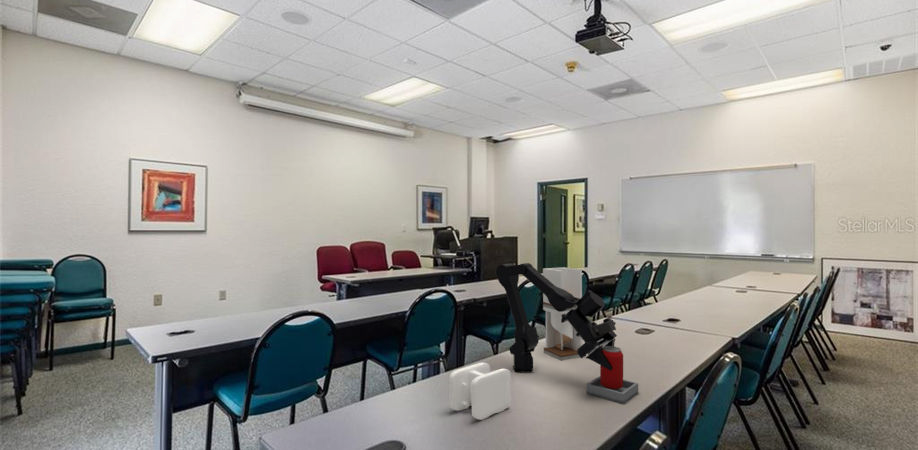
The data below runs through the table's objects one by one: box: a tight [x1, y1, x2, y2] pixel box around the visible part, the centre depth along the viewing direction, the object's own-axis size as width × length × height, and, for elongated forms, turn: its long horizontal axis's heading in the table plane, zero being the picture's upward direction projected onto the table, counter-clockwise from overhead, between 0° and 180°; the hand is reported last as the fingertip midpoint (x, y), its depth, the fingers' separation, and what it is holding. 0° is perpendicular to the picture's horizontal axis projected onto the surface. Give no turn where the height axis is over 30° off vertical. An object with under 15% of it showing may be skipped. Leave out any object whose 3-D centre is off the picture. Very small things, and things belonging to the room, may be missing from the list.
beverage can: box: [599, 345, 624, 390], centre depth 130 cm, size 7×7×12 cm
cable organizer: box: [448, 361, 512, 421], centre depth 119 cm, size 15×11×12 cm
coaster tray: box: [585, 375, 639, 405], centre depth 130 cm, size 12×12×3 cm
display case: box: [542, 267, 583, 361], centre depth 170 cm, size 11×11×35 cm
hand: (616, 366), depth 129 cm, fingers closed on beverage can, 6 cm apart
